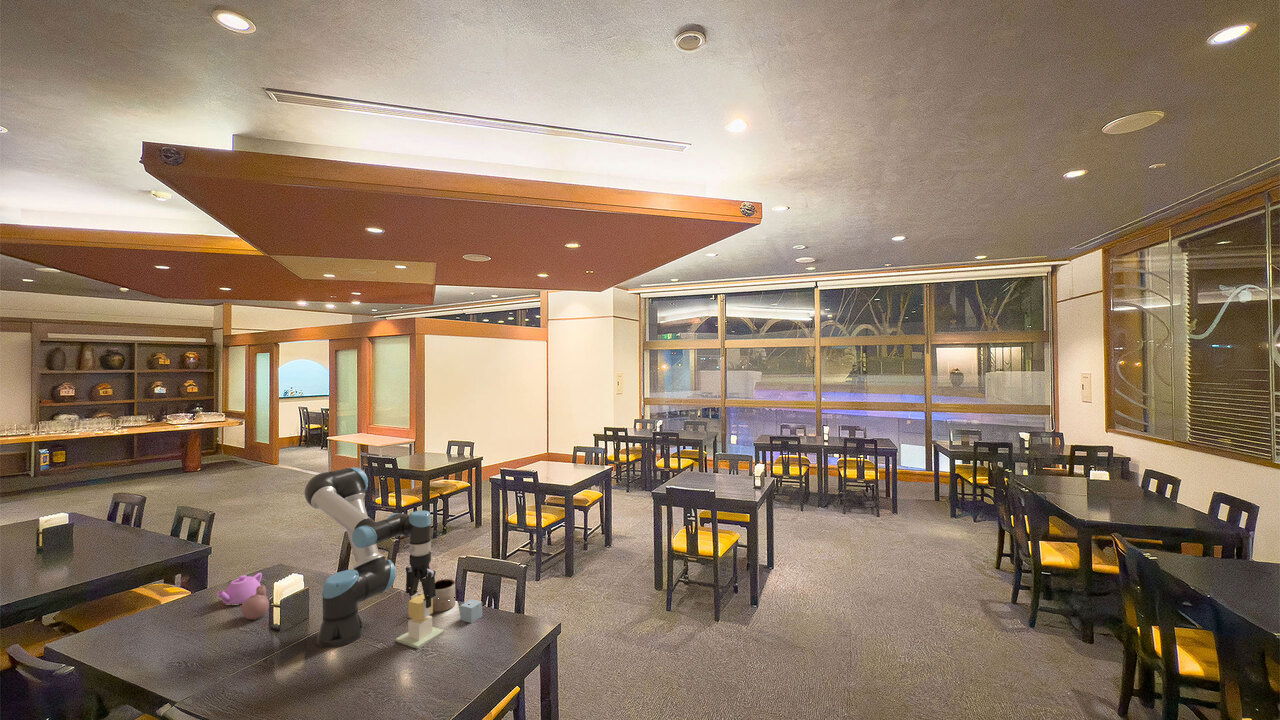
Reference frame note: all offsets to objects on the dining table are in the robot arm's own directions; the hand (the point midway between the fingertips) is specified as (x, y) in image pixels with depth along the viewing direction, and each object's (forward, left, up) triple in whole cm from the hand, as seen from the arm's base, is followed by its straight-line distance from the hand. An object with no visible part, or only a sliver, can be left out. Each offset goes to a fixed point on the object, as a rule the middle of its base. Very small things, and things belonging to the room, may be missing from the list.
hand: (420, 613), depth 186 cm
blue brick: (+7, +19, -9) cm, 22 cm away
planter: (-12, +21, -9) cm, 26 cm away
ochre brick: (0, 0, 0) cm, 0 cm away
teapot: (-99, -13, -9) cm, 100 cm away
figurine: (-76, -19, -9) cm, 79 cm away
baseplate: (0, 0, -9) cm, 9 cm away
